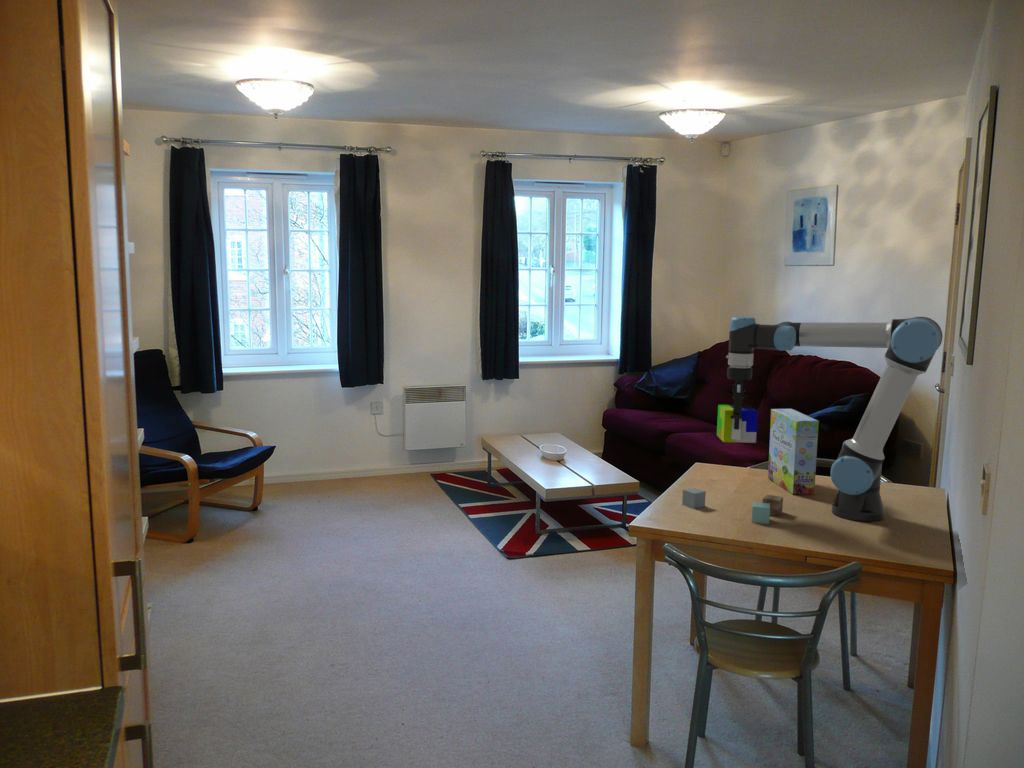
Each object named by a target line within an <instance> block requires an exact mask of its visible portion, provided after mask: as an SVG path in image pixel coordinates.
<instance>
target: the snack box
mask: <svg viewBox="0 0 1024 768" xmlns="http://www.w3.org/2000/svg"><path fill="white" fill-rule="evenodd" d="M819 424H820V420H818V419H815V418H813V417H812V416H809V415H807V414H804V413H802V412H800V411H798V410H796V409H793V408H770V425H769V426H770V429H769V431H770V432H769V451H768V467H767V468H768V471H767V479H768V480H771V481H773V483H775V484H777V485H778V486H779V487H781V488H782V489H784V490H785V491H787V492H788V493H790V495H792V496H802V495H804V496H806V495H809V496H810V495H815V487H816V473H817V472H816V470H817V457H818V456H817V455H818V453H817V452H818V441H819V440H818V439H819V426H820V425H819Z"/></svg>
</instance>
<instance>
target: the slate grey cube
mask: <svg viewBox="0 0 1024 768" xmlns="http://www.w3.org/2000/svg"><path fill="white" fill-rule="evenodd" d="M706 493H707V492H706V490H705V491H704V490H702V489H699V488H697V487H692V488H691V487H690V488H686V489H682V502H681V505H682V506H684V505H685V507H687V506H688V508H691V509H693V510H695V509H700V508H703V507H706V495H707V494H706Z"/></svg>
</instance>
